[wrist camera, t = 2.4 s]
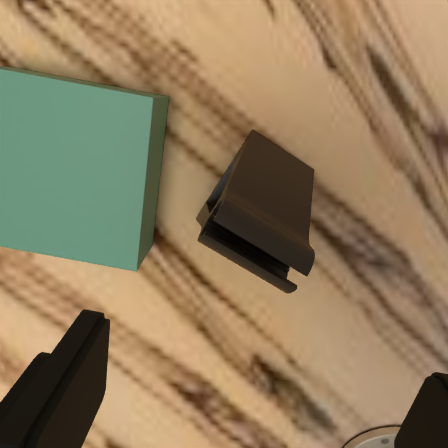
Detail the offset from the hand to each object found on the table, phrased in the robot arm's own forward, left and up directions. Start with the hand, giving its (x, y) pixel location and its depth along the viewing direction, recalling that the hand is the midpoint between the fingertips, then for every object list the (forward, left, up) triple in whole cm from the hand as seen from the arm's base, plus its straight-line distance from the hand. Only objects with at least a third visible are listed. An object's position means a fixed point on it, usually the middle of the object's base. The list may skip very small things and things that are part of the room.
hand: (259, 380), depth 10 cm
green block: (+14, 0, -21) cm, 25 cm away
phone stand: (0, 0, -21) cm, 21 cm away
